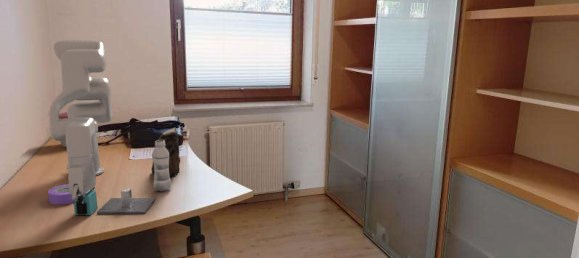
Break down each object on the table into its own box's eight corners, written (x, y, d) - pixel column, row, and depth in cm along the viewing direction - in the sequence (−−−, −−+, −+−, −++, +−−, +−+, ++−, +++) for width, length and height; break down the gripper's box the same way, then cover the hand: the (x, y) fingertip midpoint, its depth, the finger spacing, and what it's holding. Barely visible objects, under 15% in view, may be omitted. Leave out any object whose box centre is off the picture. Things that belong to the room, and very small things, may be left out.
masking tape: (76, 190, 157) (75, 181, 156) (90, 198, 150) (89, 188, 149) (44, 199, 148) (42, 189, 147) (57, 207, 141) (55, 197, 140)
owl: (178, 168, 185) (176, 125, 180) (188, 176, 174) (186, 131, 170) (150, 172, 178) (148, 128, 173) (158, 181, 167) (156, 134, 163)
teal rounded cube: (75, 214, 134) (73, 196, 133) (82, 208, 139) (80, 190, 138) (90, 214, 134) (88, 196, 133) (97, 208, 139) (95, 190, 138)
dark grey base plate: (97, 214, 136) (95, 196, 134) (111, 200, 147) (110, 183, 146) (144, 214, 136) (143, 196, 135) (155, 200, 148) (154, 184, 147)
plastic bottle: (162, 194, 153) (159, 144, 149) (150, 190, 157) (147, 141, 152) (175, 189, 159) (172, 140, 154) (163, 186, 162) (160, 138, 158)
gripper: (81, 151, 141) (86, 200, 145) (55, 167, 124) (62, 221, 128) (103, 152, 141) (107, 200, 145) (80, 167, 124) (85, 221, 128)
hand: (86, 209), depth 137 cm, fingers closed on teal rounded cube, 5 cm apart
